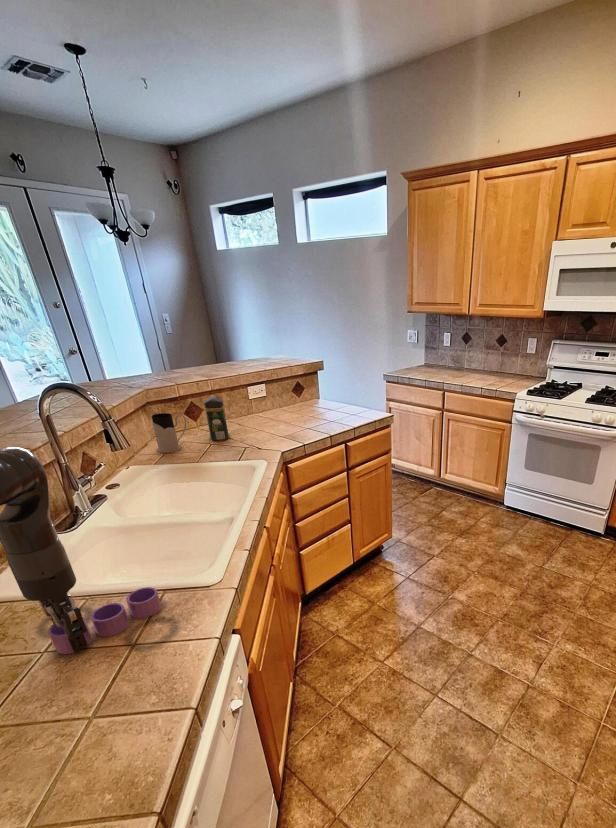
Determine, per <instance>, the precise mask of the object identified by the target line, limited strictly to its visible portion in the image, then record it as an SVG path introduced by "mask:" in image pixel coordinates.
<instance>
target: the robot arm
mask: <svg viewBox="0 0 616 828" xmlns="http://www.w3.org/2000/svg"><path fill="white" fill-rule="evenodd" d="M50 505H51V504H50V491H49V481H48V475H47V472H46V469H45V467H44V466H43V464H42V463H41V461H40V460H39V459H38V457H37V456H36V455H35V454H33V453H32V452H31V451H29V450H27V449H25V448H21V447H16V446H15V447H14V446H11V447H5V448H2V449H0V506H3V508H2V510H0V543H1V546H2V548H3V550H4V553H5V557H6V560H7V564H8V566H9V568H10V571H11V573H12V575H13V577H14V579H15V581H16V583H17V586H18V588H19V590H20V592H21V594H22V597H23V598H25V599H26V600H28V601H33V602H38V603H39V606H40V607H41V608H42V611H43V613H44V615H45V616H46V617H48V620H49V621H50V622H51V623H52V625H53V624H54V623H55V624H56V625H57V626H58V627H62V629H63V631H64V633H65V636H66V637H67V638H68V640H69V643H70V645H71V647H72V650H73V651H74V653H77V652H80V651H81V650H83V649H85V648H87V647H88V645H87V642H86V639H85V637H84V634H83V633H86V632H87V629H86V627H85V624H84V621H83V618H84V617H83V615H82V612H81V609H80V608H79V607H78V606H76V605H75V603H76V601H75V599H74V597H73V596H72V595H71V594H68V593H69V591H71V589H73V588H74V587H75V585H76V584H77V577H76V575H75V571H74V569H73V566H72V564H71V561H70V559H69V557H68V554H67V551H66V549H65V546H64V544H63V543H62V541H61V540H60V538H59V536H58V533H57V530H56V527H55V525H54V523H53V520H52V518H51V516H50V515H51V514H50ZM82 617H83V618H82ZM59 620H63V621H59Z"/></svg>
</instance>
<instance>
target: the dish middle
mask: <svg viewBox="0 0 616 828" xmlns="http://www.w3.org/2000/svg"><path fill="white" fill-rule="evenodd" d="M90 620H91V623H92V626H93V628H94V631H95V633H96V634H97V635H98V636H99V637H111V636H115V635H118V634H120V633H121V632H123V631H124V630H126V629H127V628H128V626H129V625H130V619H129V616H128V613H127V609H126V607H125V605H124V604H123V603H120V602H111V603H107V604H104V605H101V606H99V607H97V608H96V609H95V610H93V611H92V613H90Z"/></svg>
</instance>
